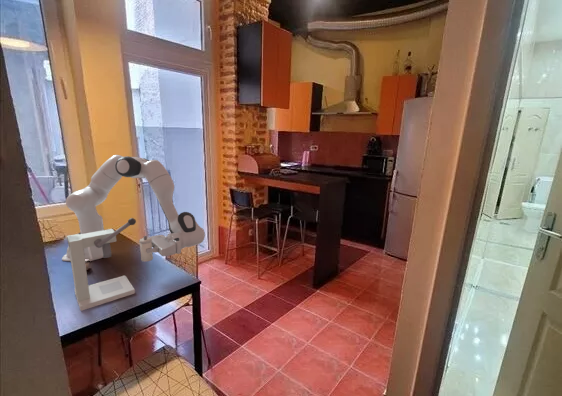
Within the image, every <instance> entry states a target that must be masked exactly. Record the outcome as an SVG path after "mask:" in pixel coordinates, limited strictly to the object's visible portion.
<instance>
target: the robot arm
mask: <svg viewBox="0 0 562 396" xmlns="http://www.w3.org/2000/svg"><path fill="white" fill-rule="evenodd" d="M90 177H91V178H90V182H89V184H88V185H87V186H85V187H84V188H81V189H79V190H75V191H73V192H72V193H70V195H68V196H67V197H66V199H65V204H66V207H67V208H68V209H69V210H70V211H72V213H74V214H75V217H76V219H77V221H78V226H79V231H80V232H78V233H77V234H79V235H80V234H85V233H91V232H96V231H102V230H105V228H104V220H103V216H102V215H100V214H99V213H98V210H97V206H99V205H101V204H102V203H104V202H105V201H106V200H107V198H108V196H109V194H110V192H111V190H112V189H113V188H114V187H115V185H117V183H118V182H119V181H120V180H121V179H122V178H123V177H124V178H132V179H138V178H139V179H140V178H143V179H144V178H145V179H146V181H147V182H148V185H149V186H150V188H151V190H152V191H153V193H154V195H155V196H156V199H157V201H158V203H159V206H160V207H161V210H162V211H163V214H164V216H165V218H166V220H167V223H168V231H169V232H170V233H169V234H167V236H166V235H164V234H160V235H159V234H158V235H152V236H148V238H151V239H152V248H147V249H146V252H147V253H154V254H155V253H158V254H159V255H160V256H161V257H169V256H173V255H179V254H182V250H183V249H185V248H190V247H195V246H197V245H200V244H202V243H203V242H204V240H205V236H206V234H205V230H204V229H203V228H202V227H201V226H200V225H199V224H198V223H197V220H196V218H195V215H193V214H192V213H191V212H188V211H183V212H181V213H178V210H177V209H176V207H175V205H174V203H173V200H174V199H173V197H174V191H175V184H174V180H173V179H172V176H171V174H170V173H169V171H168V170H167V169H166V167H165V166H164V164H162V163H161V161H159V160H157V159H152V160H149V159H148V158H144V157H140V156H127V155H126V156H122V155H119V154H114V155H112V156H110V157H109V158H108V159H106V161H104V162H103V163H102V165H100V167H99V168H98V169H97V170H96V171H95V172H94V174H92V176H90ZM83 251H84V258H85V259H89V261H90V262H91V261H92V262H93V261H95V260H99V259H102V258H104V257H103V250H102V247H100V248H97V247H96V246H91V247H86V248H83ZM61 261H63V262H71V259H70V253H69V246H67V248H66V253H65V254H64V255H63V256H62V258H61Z"/></svg>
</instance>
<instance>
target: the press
mask: <svg viewBox="0 0 562 396" xmlns="http://www.w3.org/2000/svg"><path fill="white" fill-rule="evenodd" d="M136 223H137V220H136V219H135V218H134V217H130V218H129V219H128V220H127V222H126V223H124V224H123V225H122V226H120V227H119V228H118V229H116V230H114V229H113V228H110V229H109V228H108V229H104V230H102V231H96V232H91V233H85V234H80V235H79V234H78V233H76V234H71V235H66V239H67V243H68V244H67V247H69V253H70V259H71V261H70V263H71V270H72V271H71V272H72V278H73V283H74V284H73V285H74V294H75V299H76V301H77V304H78V307H79V311H80V312H81V311H84V310H88V309H91V308H95V307H97V306H100V305H103V304H107V303H110V302H112V301H115V300H119V299H122V298H124V297H128V296H131V295H134V294H136V290H135V288H134V286H133V285H132V283H131V282H130V281H129V279H128V277H127V276H126V275H122V276H118V277H114V278H110V279H107V280H104V281H103V280H102V281H99V282H97V283H93V284H90V285H89V279H88V274H87V266H86V262H85V258H84V251H83V248H86V247H91V246H96V247H97V248H100V247H102V250H103V258H104V259H106V258H107V259H108V258H111V257H112V250H111V249H112V248H111V243H114V242H115V243H116V242H117V235H119V234H120V233H122V232H123V231H124V230H126V229H127V228H129V227H130V226H134V225H136Z"/></svg>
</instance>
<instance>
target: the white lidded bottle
mask: <svg viewBox="0 0 562 396" xmlns="http://www.w3.org/2000/svg"><path fill="white" fill-rule="evenodd" d="M138 241H139V242H138V243H139V247H140V249H139V251H140V260H141V262H150V261H152V260H153V259H154V256H153V253H147V252H146V249H147V248H153V247H152V239H151V238H149V237H148V236H147V235H144V236H143V238H140V239H139V240H138Z"/></svg>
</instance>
